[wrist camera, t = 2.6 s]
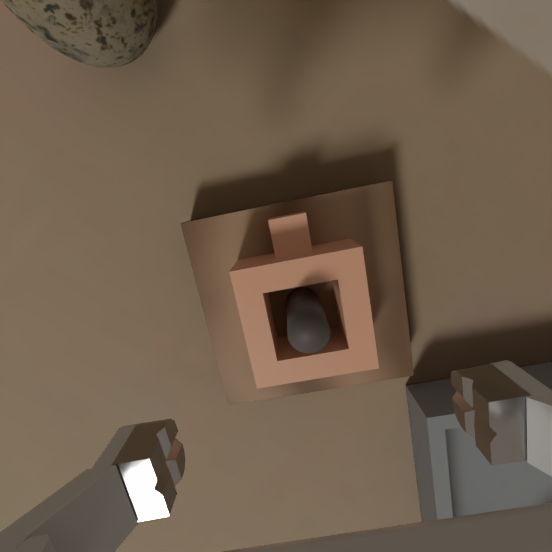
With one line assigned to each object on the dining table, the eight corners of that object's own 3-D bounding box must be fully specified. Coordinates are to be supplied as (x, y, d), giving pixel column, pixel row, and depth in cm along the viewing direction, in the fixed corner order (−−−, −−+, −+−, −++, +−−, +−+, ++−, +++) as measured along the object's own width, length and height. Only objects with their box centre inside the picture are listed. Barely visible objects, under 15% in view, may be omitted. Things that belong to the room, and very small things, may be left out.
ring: (344, 203, 18) (356, 204, 16) (365, 343, 20) (379, 368, 17) (229, 226, 19) (219, 232, 16) (260, 361, 21) (256, 388, 18)
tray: (645, 346, 22) (711, 373, 19) (633, 531, 26) (685, 582, 22) (405, 385, 23) (426, 418, 20) (426, 558, 27) (446, 610, 24)
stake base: (381, 181, 20) (427, 176, 14) (402, 359, 23) (448, 423, 16) (190, 220, 21) (149, 231, 14) (232, 388, 24) (214, 459, 17)
